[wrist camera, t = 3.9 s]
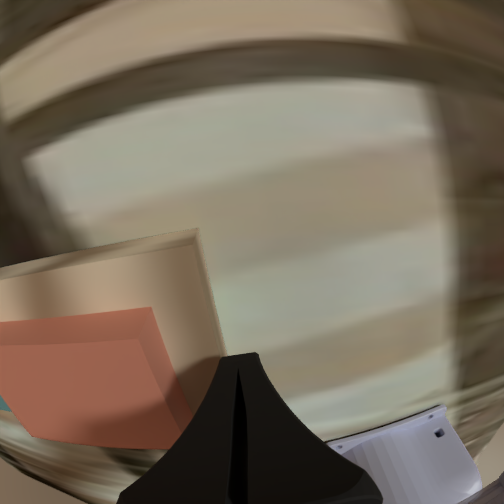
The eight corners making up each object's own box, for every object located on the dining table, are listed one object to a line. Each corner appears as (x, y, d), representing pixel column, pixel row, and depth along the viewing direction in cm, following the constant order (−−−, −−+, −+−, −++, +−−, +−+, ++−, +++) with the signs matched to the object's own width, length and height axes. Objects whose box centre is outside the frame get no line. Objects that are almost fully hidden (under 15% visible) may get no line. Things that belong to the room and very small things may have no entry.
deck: (198, 227, 12) (192, 244, 10) (240, 406, 15) (242, 434, 14) (-23, 273, 12) (-44, 289, 10) (48, 409, 15) (38, 430, 13)
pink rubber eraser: (151, 306, 11) (137, 338, 9) (192, 415, 13) (189, 448, 11) (-9, 322, 11) (-31, 344, 9) (44, 411, 13) (31, 436, 11)
